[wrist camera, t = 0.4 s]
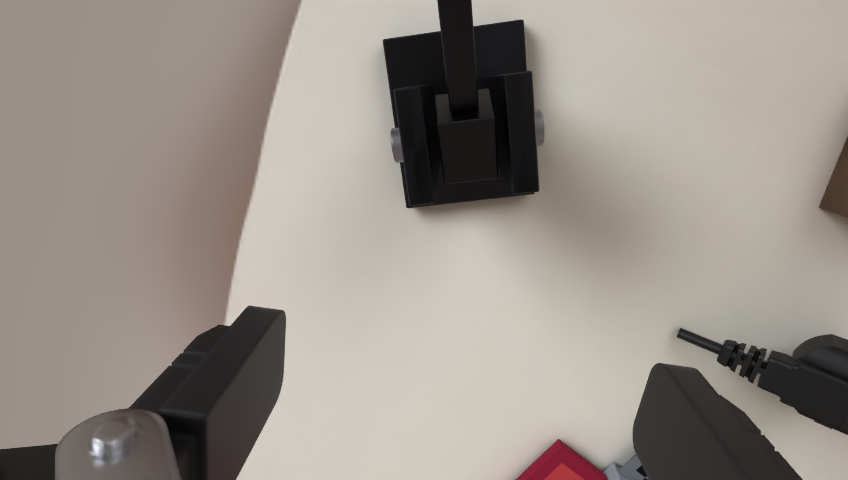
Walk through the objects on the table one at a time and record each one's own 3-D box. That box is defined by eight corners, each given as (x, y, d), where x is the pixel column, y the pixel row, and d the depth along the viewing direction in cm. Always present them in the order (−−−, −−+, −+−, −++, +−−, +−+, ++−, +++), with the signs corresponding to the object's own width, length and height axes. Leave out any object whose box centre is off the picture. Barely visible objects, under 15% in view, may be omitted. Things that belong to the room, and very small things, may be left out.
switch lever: (371, -252, 14) (362, -259, 11) (487, -274, 14) (501, -286, 11) (431, 149, 22) (432, 192, 20) (502, 141, 22) (512, 183, 20)
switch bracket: (385, 40, 30) (339, 11, 17) (520, 21, 29) (571, -23, 17) (407, 204, 32) (382, 277, 20) (531, 190, 32) (582, 256, 20)
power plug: (691, 298, 32) (936, 389, 26) (709, 276, 38) (913, 346, 32) (662, 371, 34) (885, 475, 28) (684, 340, 40) (872, 418, 34)
